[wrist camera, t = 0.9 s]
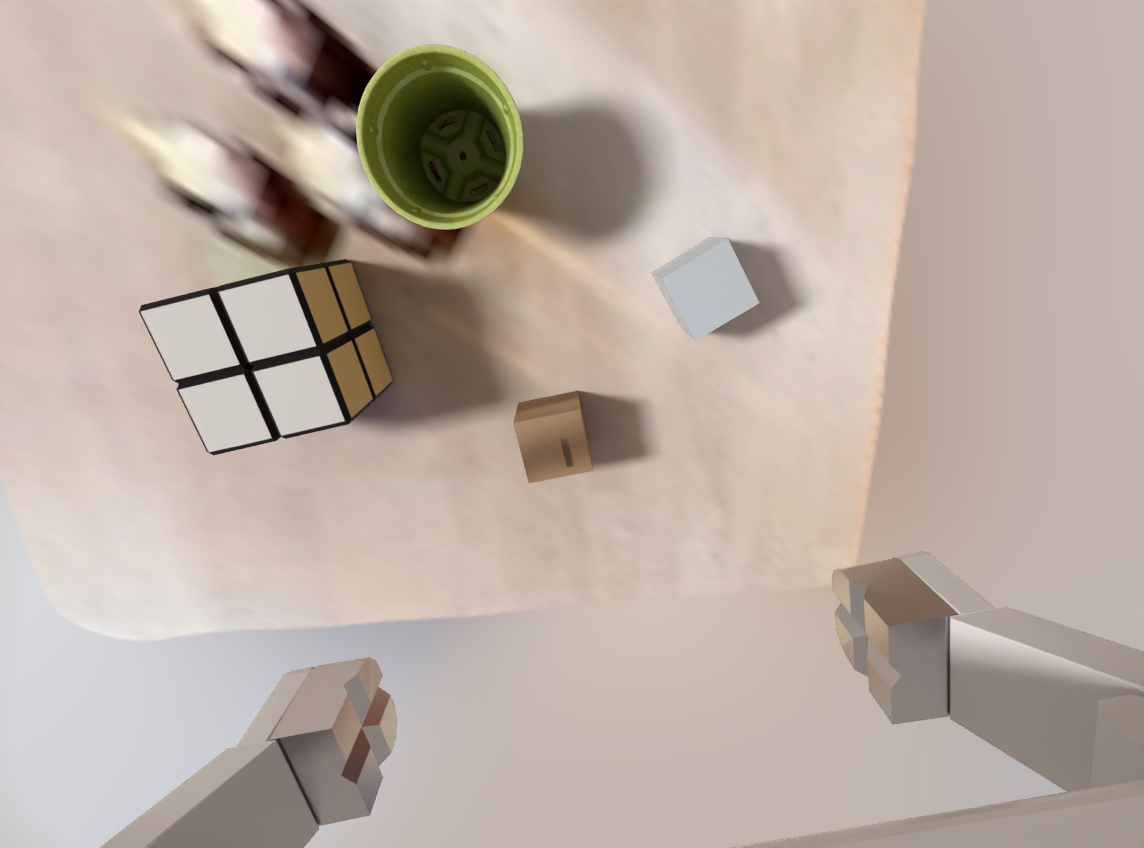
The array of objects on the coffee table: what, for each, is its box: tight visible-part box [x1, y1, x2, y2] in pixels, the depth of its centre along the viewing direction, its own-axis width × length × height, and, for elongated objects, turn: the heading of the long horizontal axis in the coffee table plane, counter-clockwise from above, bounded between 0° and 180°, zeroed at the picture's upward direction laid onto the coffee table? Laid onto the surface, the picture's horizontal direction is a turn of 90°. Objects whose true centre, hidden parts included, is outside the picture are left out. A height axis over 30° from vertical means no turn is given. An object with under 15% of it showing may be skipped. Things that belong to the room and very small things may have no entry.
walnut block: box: [514, 391, 593, 483], centre depth 44 cm, size 5×5×5 cm
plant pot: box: [357, 44, 524, 229], centre depth 36 cm, size 9×9×9 cm
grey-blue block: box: [651, 237, 759, 341], centre depth 41 cm, size 5×5×5 cm
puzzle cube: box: [139, 259, 393, 455], centre depth 39 cm, size 10×10×10 cm
